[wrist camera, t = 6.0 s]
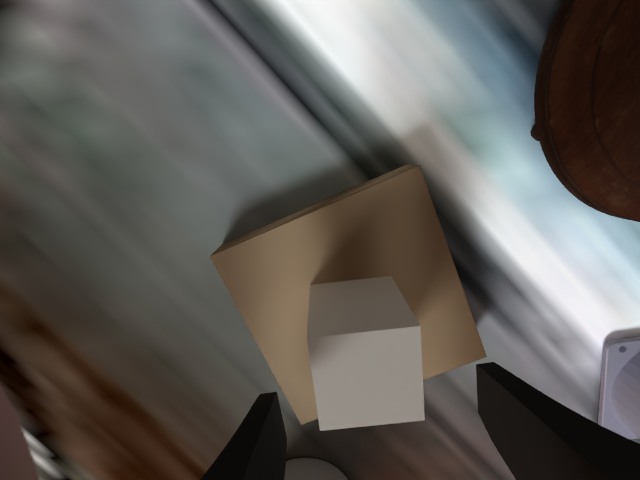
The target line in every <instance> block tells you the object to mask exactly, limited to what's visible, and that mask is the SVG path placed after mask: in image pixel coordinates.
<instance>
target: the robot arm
mask: <svg viewBox="0 0 640 480" xmlns="http://www.w3.org/2000/svg"><path fill="white" fill-rule="evenodd" d="M476 371H477V395H478V413H479V415H480V417H481V419H482V421H483V424H484V426H485V428H486V430H487V432H488V434H489V436H490V438H491V440H492V442H493V443H494V445H495V447H496V448H497V450H498V452H499V453H500V455H501V456H502V458H503V460H504V461H505V463H506V464H507V466H508V468H509V469H510V471H511V472H512V474H513V475H514V477H515V479H516V480H640V444H639V443H636V442H634V441H632V440H630V439H635V438H639V439H640V336H639V337H632V338H625V339H618V340H611V341H608V342H606V343H605V344H604V347H603V357H602V371H601V386H600V401H599V415H598V424H597V423H595V422H593V421H591V420H589V419H587V418H585V417H583V416H581V415H580V414H578V413H576V412H574V411H572V410H571V409H569V408H567V407H565V406H564V405H562V404H560V403H558V402H557V401H555V400H553V399H552V398H550V397H548V396H547V395H545V394H543V393H542V392H540V391H538V390H537V389H535V388H534V387H532V386H531V385H529V384H527V383H526V382H524V381H523V380H521V379H520V378H518V377H516V376H515V375H513V374H512V373H510V372H509V371H507V370H506V369H504V368H502V367H501V366H499V365H498V364H496V363H494V362H490V363H483V364H476ZM286 446H287V437H286V432H285V428H284V423H283V418H282V414H281V409H280V405H279V400H278V396H277V392H272V393H265V394H260V395H259V396H258V398H257V399H256V401H255V402H254V404H253V406H252V407H251V409H250V411H249V412H248V414H247V415H246V417H245V418H244V420H243V422H242V423H241V425H240V426H239V428H238V429H237V431H236V432H235V434H234V435H233V437H232V438H231V440H230V441H229V442H228V444H227V445H226V447H225V448H224V449H223V451H222V452H221V453H220V455H219V456H218V457H217V459H216V460H215V461H214V463H213V464H212V465H211V467H210V468H209V469H208V470H207V472H206V473H205V474H204V475H203V477H202V478H201V479H200V480H284V476H285V469H286Z"/></svg>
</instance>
